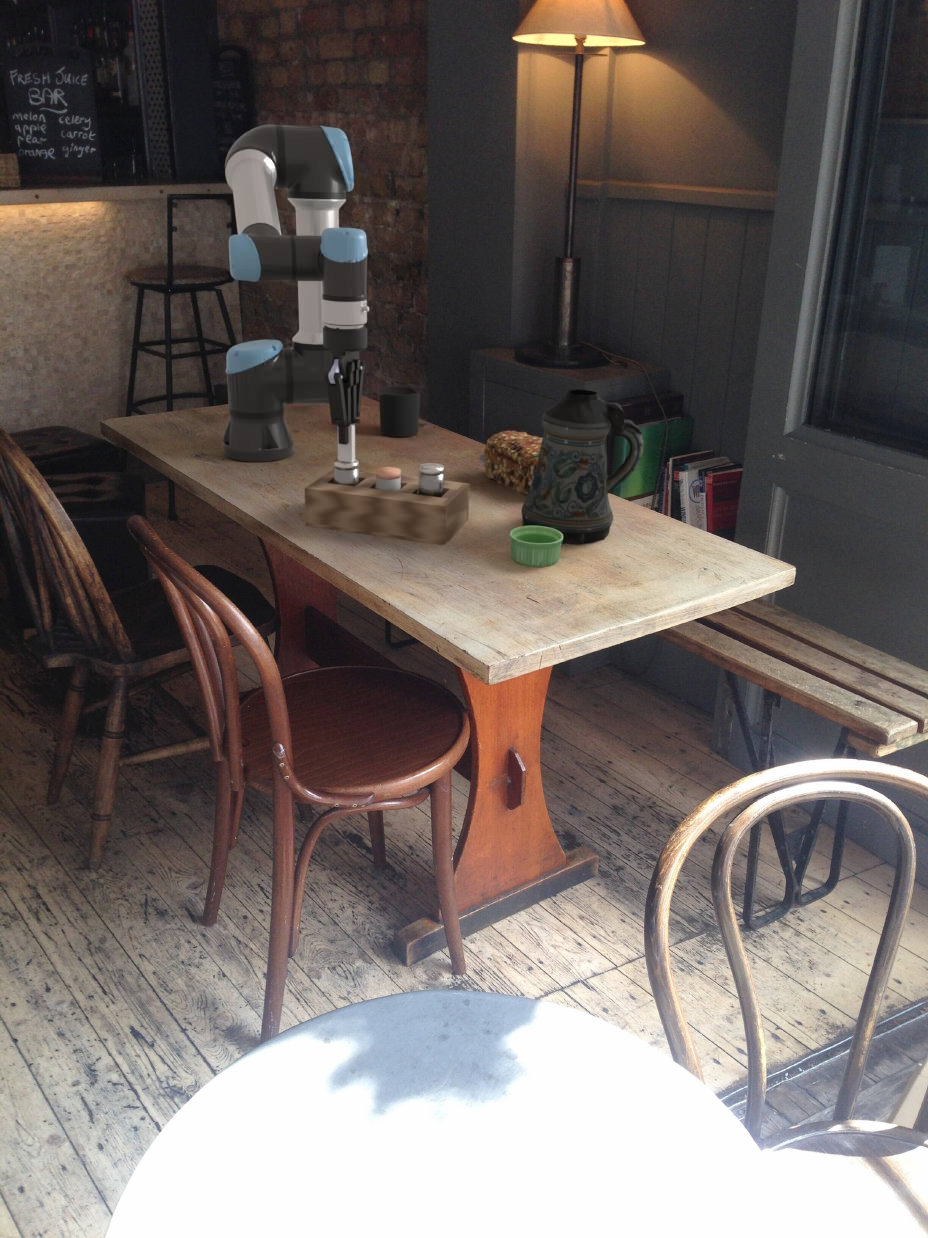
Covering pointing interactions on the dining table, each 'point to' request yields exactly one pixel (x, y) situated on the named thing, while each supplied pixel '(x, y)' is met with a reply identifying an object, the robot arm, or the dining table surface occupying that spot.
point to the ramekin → (535, 545)
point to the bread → (512, 459)
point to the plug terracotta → (388, 479)
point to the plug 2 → (431, 479)
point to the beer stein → (579, 467)
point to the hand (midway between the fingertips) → (346, 460)
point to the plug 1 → (346, 472)
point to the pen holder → (399, 411)
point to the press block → (387, 508)
